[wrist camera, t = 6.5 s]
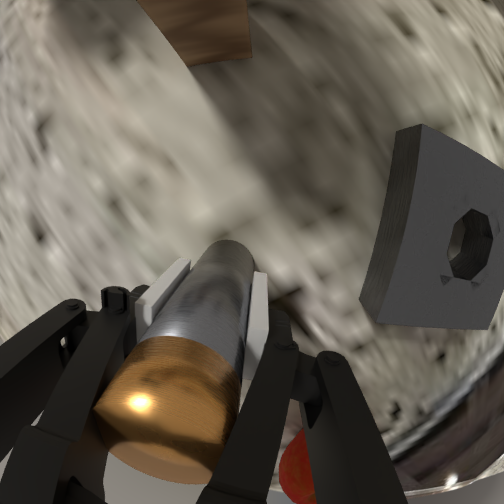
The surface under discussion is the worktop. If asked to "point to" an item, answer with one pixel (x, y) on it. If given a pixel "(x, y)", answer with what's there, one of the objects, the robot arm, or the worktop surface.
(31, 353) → the robot arm
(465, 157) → the holder plate
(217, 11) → the square bit
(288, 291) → the worktop surface
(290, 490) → the apple
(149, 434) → the round bit
